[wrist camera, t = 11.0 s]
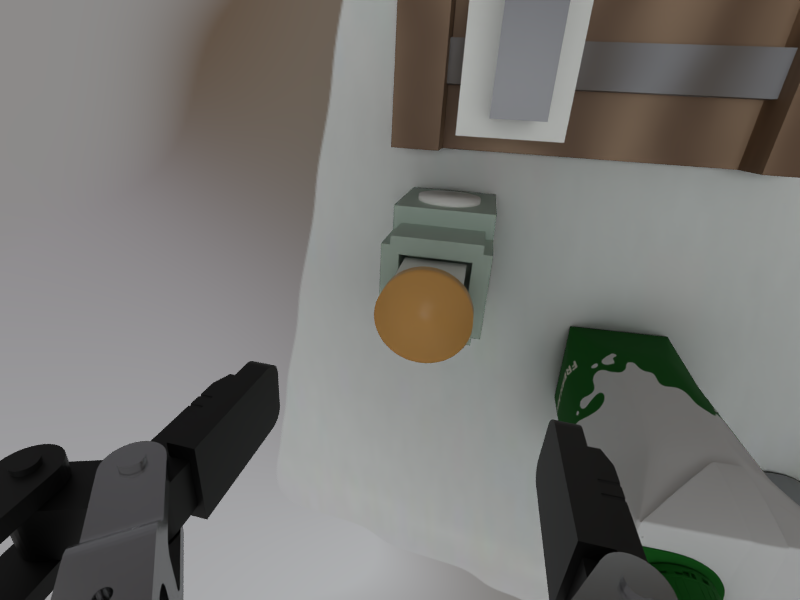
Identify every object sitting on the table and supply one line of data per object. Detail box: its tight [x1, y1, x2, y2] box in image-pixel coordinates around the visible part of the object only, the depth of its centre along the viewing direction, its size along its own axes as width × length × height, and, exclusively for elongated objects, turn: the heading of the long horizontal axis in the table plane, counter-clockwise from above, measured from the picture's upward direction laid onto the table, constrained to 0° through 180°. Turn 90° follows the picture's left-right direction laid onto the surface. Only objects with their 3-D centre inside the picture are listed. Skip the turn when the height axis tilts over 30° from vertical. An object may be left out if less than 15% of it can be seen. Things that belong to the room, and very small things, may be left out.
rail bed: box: [391, 0, 800, 178], centre depth 24 cm, size 24×10×4 cm, turn 87°
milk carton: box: [555, 326, 800, 600], centre depth 24 cm, size 9×9×20 cm
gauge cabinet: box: [379, 187, 497, 345], centre depth 27 cm, size 6×8×10 cm
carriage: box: [455, 0, 594, 143], centre depth 20 cm, size 6×8×8 cm
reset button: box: [374, 257, 474, 363], centre depth 21 cm, size 5×5×4 cm
